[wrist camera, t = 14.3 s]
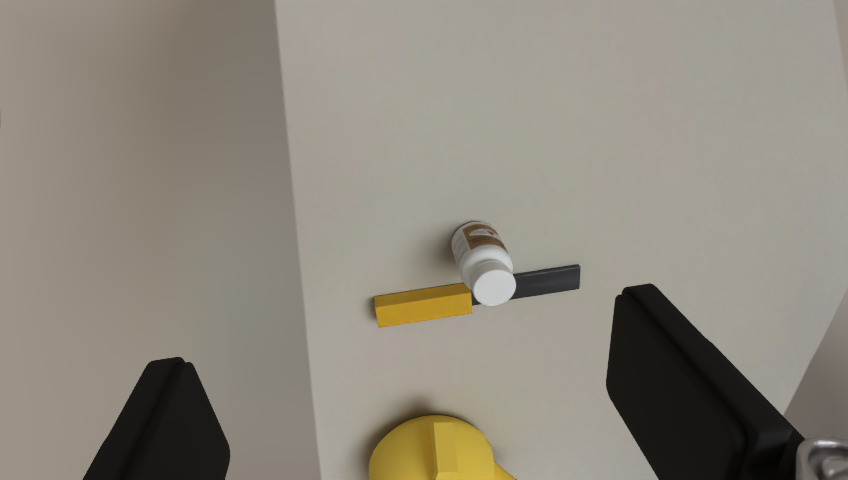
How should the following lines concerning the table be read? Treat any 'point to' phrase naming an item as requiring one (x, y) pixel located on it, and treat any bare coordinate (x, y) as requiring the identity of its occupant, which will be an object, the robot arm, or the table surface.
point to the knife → (466, 296)
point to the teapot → (435, 452)
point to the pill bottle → (484, 263)
